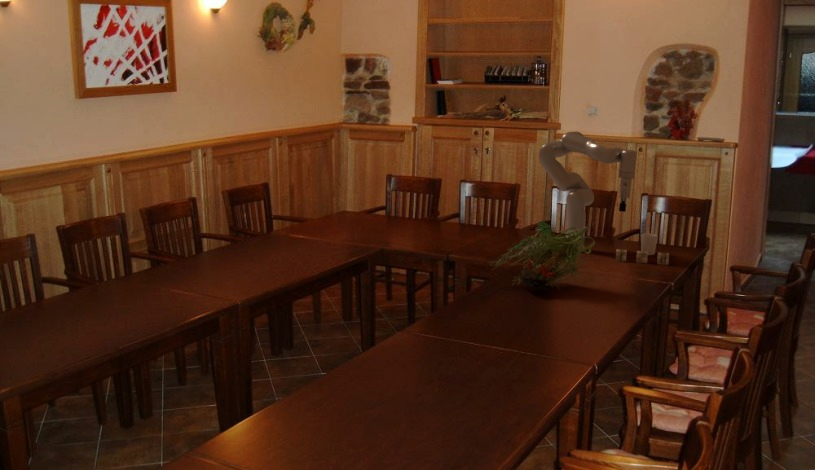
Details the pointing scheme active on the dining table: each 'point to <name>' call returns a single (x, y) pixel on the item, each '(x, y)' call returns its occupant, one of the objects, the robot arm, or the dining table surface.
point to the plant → (549, 256)
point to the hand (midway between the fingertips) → (622, 211)
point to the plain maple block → (642, 256)
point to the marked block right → (663, 258)
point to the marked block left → (621, 255)
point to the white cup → (648, 243)
